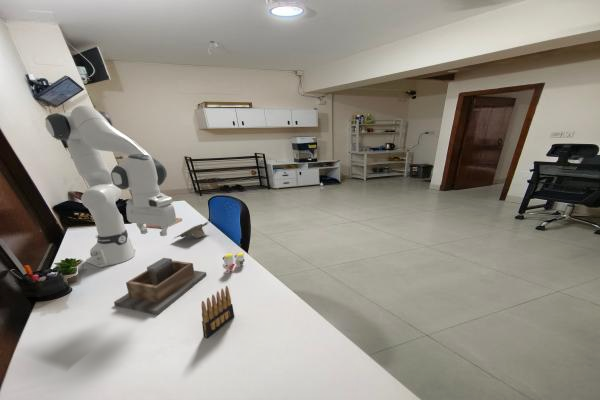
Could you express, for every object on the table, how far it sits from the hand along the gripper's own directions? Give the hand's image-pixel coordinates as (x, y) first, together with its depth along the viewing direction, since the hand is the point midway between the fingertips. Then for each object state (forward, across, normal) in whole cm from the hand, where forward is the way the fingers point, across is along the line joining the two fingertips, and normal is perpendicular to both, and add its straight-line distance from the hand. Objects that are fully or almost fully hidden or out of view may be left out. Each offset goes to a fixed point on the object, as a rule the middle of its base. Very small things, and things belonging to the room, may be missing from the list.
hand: (153, 234), depth 96 cm
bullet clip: (+23, +35, -12) cm, 44 cm away
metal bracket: (+22, +1, 0) cm, 22 cm away
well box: (+23, +1, 0) cm, 23 cm away
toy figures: (+23, +20, +21) cm, 37 cm away
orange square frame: (+23, -65, +66) cm, 96 cm away
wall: (+24, -26, +48) cm, 59 cm away
